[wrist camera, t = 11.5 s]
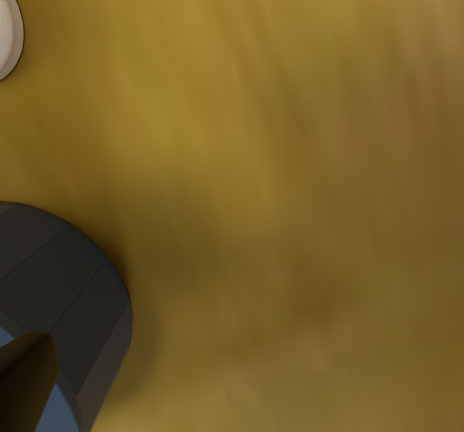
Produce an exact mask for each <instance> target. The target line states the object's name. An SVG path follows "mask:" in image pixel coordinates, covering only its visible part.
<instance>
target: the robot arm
mask: <svg viewBox="0 0 464 432" xmlns="http://www.w3.org/2000/svg"><path fill="white" fill-rule="evenodd" d="M58 372H59V365H58V359H57V353H56V347H55V341H54V337H53V336H52V334H50V333H48V332H28V333H26V334H24V335H22V336H20V337H19V338H17V339H15V340H13V341H11V342H9V343H7V344H5V345H3V346H1V347H0V432H35V431H36V428H37V426H38V423H39V421H40V419H41V416H42V414H43V412H44V409H45V407H46V404H47V402H48V400H49V397H50V395H51V392H52V390H53V388H54V385H55V383H56V380H57V377H58Z"/></svg>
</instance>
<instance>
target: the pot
mask: <svg viewBox="0 0 464 432" xmlns="http://www.w3.org/2000/svg"><path fill="white" fill-rule="evenodd" d="M0 311H1V312H2V313H4V314H5V315H7V316H8V317H9V318H11V319H12V320H13V321H15V322H16V323H17V324H18V325H19V326H20V327H21V328H23V329H24V330H25V331H26V332H27V333H28V332H48V333H50V334H52V336H53V337H54V341H55V347H56V353H57V359H58V365H59V369H60V370H61V371H62V373H63V374H64V376H65V377H66V379H67V381H68V383H69V384H70V386H71V388H72V390H73V391H74V393H75V395H76V397H77V400H78V403H79V405H80V408H81V410H82V413H83V416H84V420H85V425H86V429H87V432H91V430H92V428H93V426H94V423H95V421H96V419H97V417H98V415H99V413H100V410H101V408H102V406H103V404H104V402H105V399H106V397H107V395H108V393H109V391H110V389H111V386H112V384H113V382H114V380H115V378H116V376H117V373H118V371H119V369H120V366H121V364H122V362H123V359H124V357H125V355H126V353H127V350H128V348H129V346H130V342H131V335H132V311H131V305H130V301H129V297H128V294H127V291H126V288H125V286H124V284H123V282H122V280H121V277H120V276H119V274H118V272H117V271H116V269H115V267H114V266H113V264H112V263H111V262H110V260H109V259H108V258H107V257H106V255H105V254H104V253H103V252H102V251H101V250H100V249H99V248H98V247H97V246H96V245H95V244H94V243H93V242H92V241H91V240H90V239H89V238H88V237H87V236H85V235H84V234H83V233H82V232H80V231H79V230H78V229H76V228H75V227H73V226H71V225H70V224H68V223H67V222H65V221H63V220H62V219H59V218H57V217H55V216H53V215H51V214H49V213H47V212H44V211H41V210H39V209H36V208H33V207H29V206H25V205H21V204H16V203H9V202H0Z"/></svg>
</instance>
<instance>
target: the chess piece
mask: <svg viewBox="0 0 464 432" xmlns="http://www.w3.org/2000/svg"><path fill="white" fill-rule="evenodd" d="M22 46H23V23H22V18H21V14H20V10H19V7H18V5H17V2H16V0H0V80H1V79H3V78H4V77H5V76H7V75H8V74H9V73H10V72H11V71H12V69H13V68H14V67H15V65H16V63H17V61H18V59H19V57H20V54H21V51H22Z"/></svg>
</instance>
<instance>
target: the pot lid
mask: <svg viewBox="0 0 464 432" xmlns="http://www.w3.org/2000/svg"><path fill="white" fill-rule="evenodd" d="M26 333H27V332H26V331H25V330H24V329H23V328H21V327H20V326H19V325H18V324H17V323H16V322H15V321H13V320H12V319H11V318H9V317H8V316H7V315H5V314H4V313H2V312H1V311H0V347H1V346H3V345H5V344H7V343H9V342H11V341H13V340H15V339H17V338H19V337H20V336H22V335H24V334H26ZM35 432H87V429H86V425H85V420H84V416H83V413H82V410H81V408H80V405H79V403H78V400H77V397H76V395H75V393H74V391H73V390H72V388H71V386H70V384H69V383H68V381H67V379H66V377H65V376H64V374H63V373H62V371H61V370H60V369H59V372H58V377H57V380H56V383H55V385H54V388H53V390H52V392H51V395H50V397H49V400H48V402H47V404H46V407H45V409H44V412H43V414H42V416H41V419H40V421H39V423H38V426H37V428H36V431H35Z"/></svg>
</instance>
